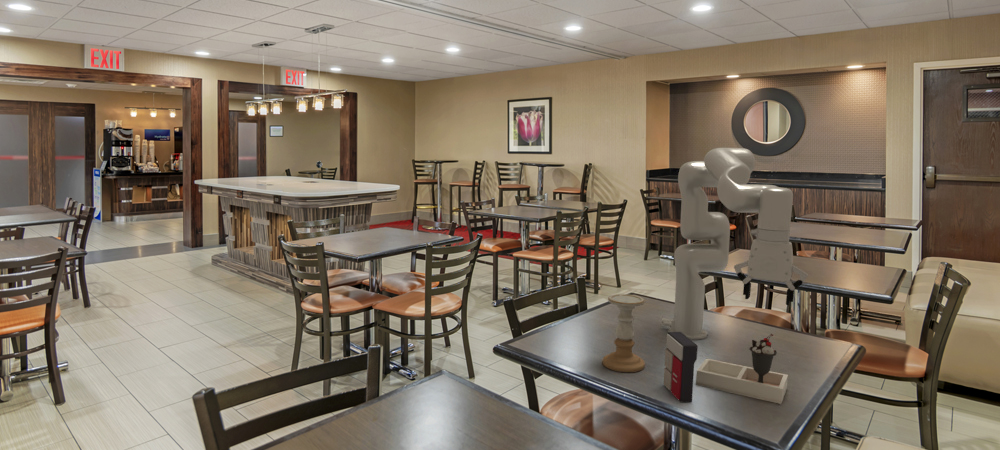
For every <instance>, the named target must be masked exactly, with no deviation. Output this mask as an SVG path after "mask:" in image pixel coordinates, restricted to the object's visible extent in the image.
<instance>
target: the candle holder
mask: <svg viewBox="0 0 1000 450" xmlns="http://www.w3.org/2000/svg"><path fill="white" fill-rule="evenodd" d="M607 301H608V303H610V304H612V305H615V306H616V307H617V309H619V313H618V314H617V315H616V319H617V320H618V322H617V323H618V324H617V327H616V330H615V337H616V339H615V340H614V341H613V344H615V346H616V348H615V351H613V352H610V353H608V354H607V355H605V356H603V358H602V359H601V361H602V365H603V366H604V367H605V368H607V369H609V370H611V371H615V372H620V373H636V372H641V371H642V370H644V368H645V367H646V363H645V361H644V359H642V358H641V357H640V356H638V355H637V354H635V353H634V352H633V347H634V346H635V341H634V340H633V339H634V337H635V331H634V327H633V321H634V320H635V316H634V315H633V314H632V313H633V310H634V309H635V307H640V306H642V305H644V304H645V301H646V300H645V298H644V297H641V296H639V295H635V294H627V293H626V294H625V293H621V294H620V293H618V294H616V293H615V294H612V295H609V296H608V297H607Z"/></svg>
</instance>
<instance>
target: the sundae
mask: <svg viewBox="0 0 1000 450" xmlns="http://www.w3.org/2000/svg"><path fill="white" fill-rule="evenodd" d="M773 336H774V334H772V333H770V335H768V336H767V337H764V338H763V339H760V340H757V341H756V340H754V339H751V344H752V345H751V346H750V347H749V348H748V350H749V352H751V360H752V368H753V369H754V370H755V372H756V373H758V375H759V378H758V381H757V382H759V383H763V376H764V375H765V374H767V373H768V372H769V371H771V368H772V365H773V364H772V363H773V360H774V359H773V358H774V357H775V356H777V354H778V353H777V352H778V351H777V350H776V349H774V347H773V346H772V342H771V341H770V338H771V337H773Z"/></svg>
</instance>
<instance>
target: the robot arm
mask: <svg viewBox="0 0 1000 450" xmlns="http://www.w3.org/2000/svg"><path fill="white" fill-rule="evenodd" d="M755 165H756V158H755V155H754V153H753V152H752V151H751V150H750V149H747V148H744V147H716V148H713V149H712V148H711V150H709V151H708V152H707V153H706V154H705V155H704V158H703V160H694V161H687V162H685V163H683V164H682V165H681V166H680V168H679V170H678V171H679V172H678V175H677V182H678V189H679V194H680V197H681V207H680V224H679V225H680V227H679V228H680V234H681V237H682V238H684V239H685V240H688V241H690V240H691V241H692V240H693V241H710V243H685V244H684V243H683V244H681V245H679V246H678V247H676V249H675V250H674V256H673V257H674V267H675V293H674V314H673V318H671V319H670V318H666V317H662V319H661V324H663V325H664V326H669V328H668V332H682V333H683V334H684V335H685V336H687V337H688V338H689V339H690V340H692V341H693V340H702V339H706V338H707V336H708V332H707V331H706V330H705V329H704V328H703V326H704V325H703V324H704V312H705V311H704V308H705V297H706V296H705V295H706V293H705V292H706V285H705V282H704V279H702V277H701V276H700V274H699V273H705V272H706V273H709V272H710V273H711V272H712V273H713V272H714V273H715V272H716V273H717V272H722V271H724V270H725V269H726V268H727V266H728V265H729V255H730V253H729V252H730V238H731V237H730V235H731V226H730V221H729V217H727V215H726V214H725V213H723V212H720V211H709V209H708V208H709V197H708V196H707V193H706V192H705V190H704V189H703V188H716V192H717V193H716V194H717V198H718V199H719V201H720V202H721V204H723V206H724V207H725V208H726V209H727V210H729V211H732V212H733V213H744V214H745V213H748V214H749V213H751V214H752V213H753V214H755V213H758V218H757V227H756V228H755V229H751V230H750V235H751V236H755V237H756V238H755V239H753V240H752V243H751V246H750V251H749V256H748V260H746V261H742V262H740V263H737V264H735V265H734V266H733V269H734V271H735V272H736V275H737V277H738V278H739V280H741V282H742V284H743V294H742V295H743V296H745V297H744V300H749V298H750V297H751V290H752V283H751V280H752V279H754V280H760V281H767V282H774V283H785V285H786V286H787V289H786V299H785V305H786V306H790V304H791V303H793V302H794V297H795V295H794V294H795V289H798V287H800V286H802V285H803V283H804V282H805V281H806V280H807V279H808V276H809V273H808V272H805V271H804V270H803V269H801V268H799V267H797V266H796V265H794V254H793V251H794V250H793V243H792V242H791V241H790V235H791V224H792V223H791V222H792V213H793V212H792V211H793V203H794V202H793V201H794V200H793V199H794V193H793V190H792V189H790V188H787V187H779V186H777V185H775V184H774V185H773V184H755V183H754V184H752V183H750V184H749V181H750V178H751V174H752V173H753V171H754V169H755ZM746 267H747V272H746V273H747V276H746V275H745V273H744V272H743V271H742V269H744V268H746ZM793 273H795V274H796V275H797V276H799V278H798V280H796V281H793V279H792V277H793Z"/></svg>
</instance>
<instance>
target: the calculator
mask: <svg viewBox="0 0 1000 450" xmlns="http://www.w3.org/2000/svg"><path fill="white" fill-rule="evenodd" d="M665 343H666V345H665V347H666V348H665V349H664V350H665V351H664V366H665V367H664V373H663V385H664V386H665V387H666V388H667V389H668V390H669V391H670V393H671V394H672V395H673V396H674V397H675V399H677V400H678V401H679V402H680V403H692V401H693V391H694V390H693V389H694V375H695V373H694V372H695V363H696V362H697V359H698V348H699V347H698V344H697V343H695V342H694V341H693V340H691V339H689V338H688V337H687V336H685V335H684V334H683V333H682V332H669V331H668V332H667V333H666V342H665Z"/></svg>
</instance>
